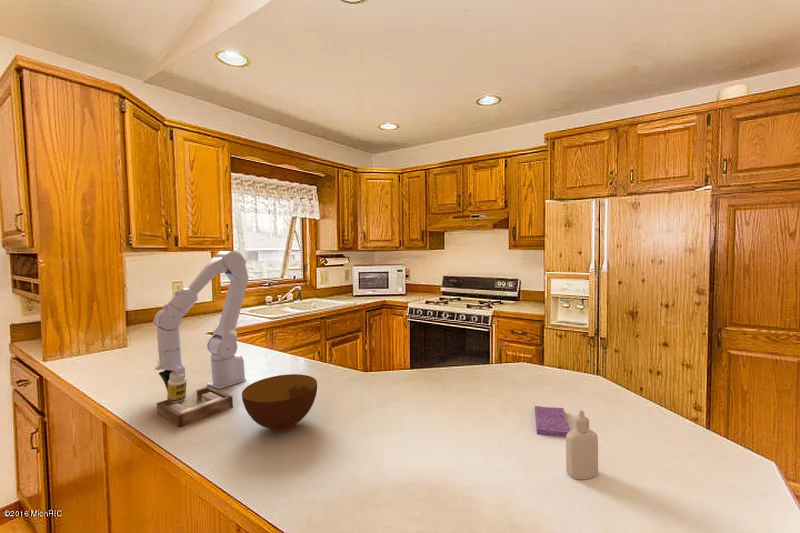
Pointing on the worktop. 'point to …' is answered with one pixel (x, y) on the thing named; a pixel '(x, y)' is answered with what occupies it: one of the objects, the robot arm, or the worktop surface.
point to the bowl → (280, 400)
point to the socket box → (195, 407)
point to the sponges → (551, 421)
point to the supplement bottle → (176, 387)
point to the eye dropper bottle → (581, 449)
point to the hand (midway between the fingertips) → (172, 393)
